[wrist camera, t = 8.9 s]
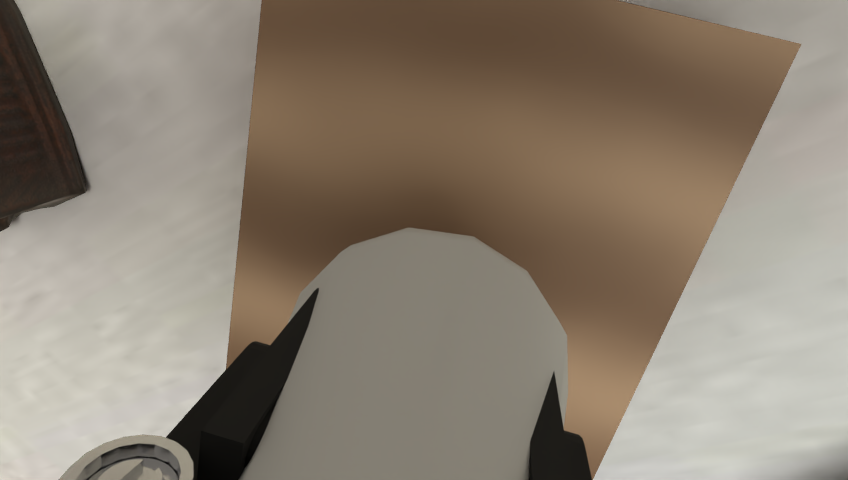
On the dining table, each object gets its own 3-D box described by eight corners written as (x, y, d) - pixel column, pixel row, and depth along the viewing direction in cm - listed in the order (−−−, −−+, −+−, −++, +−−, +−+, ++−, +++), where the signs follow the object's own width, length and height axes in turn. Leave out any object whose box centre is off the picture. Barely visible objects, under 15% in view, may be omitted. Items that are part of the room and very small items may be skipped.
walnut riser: (321, -52, 17) (269, -82, 13) (733, 46, 16) (801, 44, 12) (269, 339, 23) (223, 393, 19) (569, 426, 22) (582, 501, 18)
